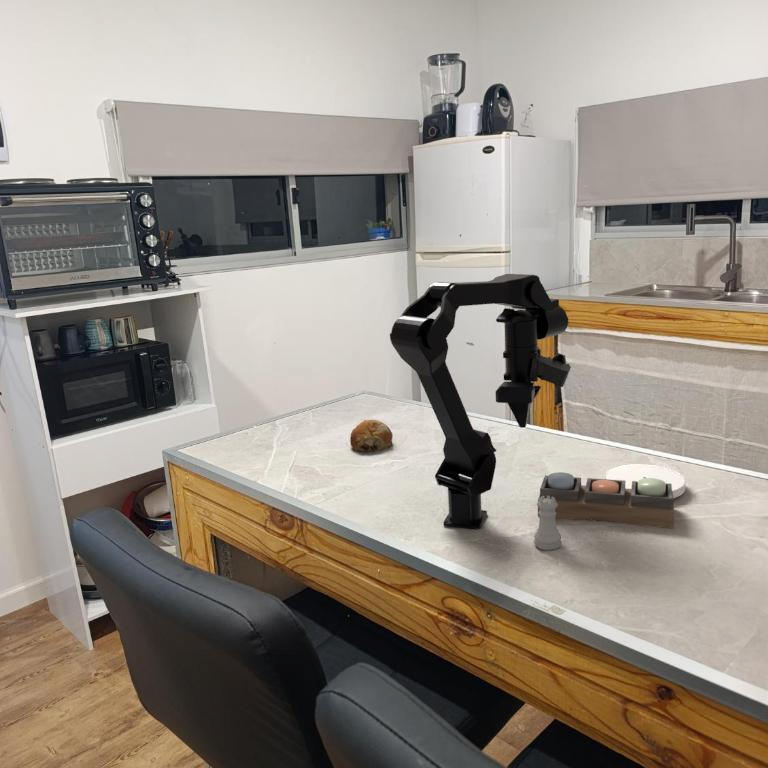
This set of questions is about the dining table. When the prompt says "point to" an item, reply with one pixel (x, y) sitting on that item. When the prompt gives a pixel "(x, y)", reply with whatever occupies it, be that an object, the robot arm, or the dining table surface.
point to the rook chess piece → (547, 525)
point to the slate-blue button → (561, 481)
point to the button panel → (611, 504)
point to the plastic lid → (647, 476)
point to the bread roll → (371, 436)
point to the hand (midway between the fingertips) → (522, 426)
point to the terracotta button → (605, 486)
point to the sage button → (651, 487)
